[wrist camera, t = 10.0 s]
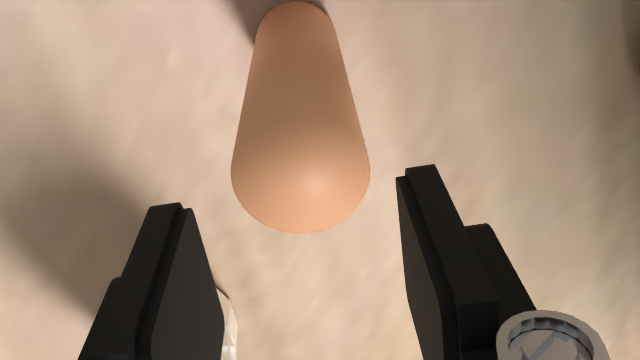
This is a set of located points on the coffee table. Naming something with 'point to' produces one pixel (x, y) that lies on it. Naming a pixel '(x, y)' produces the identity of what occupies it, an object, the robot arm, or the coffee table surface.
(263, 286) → the coffee table surface
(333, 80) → the dowel
